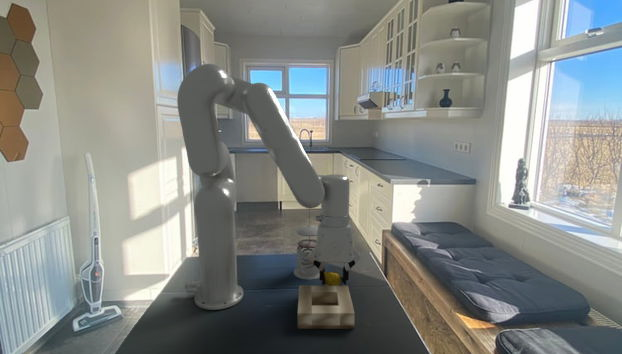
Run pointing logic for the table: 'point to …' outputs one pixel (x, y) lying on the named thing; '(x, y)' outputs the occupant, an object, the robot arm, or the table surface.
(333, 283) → the yellow stepped cone
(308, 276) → the french press
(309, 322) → the socket block
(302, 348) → the table surface
